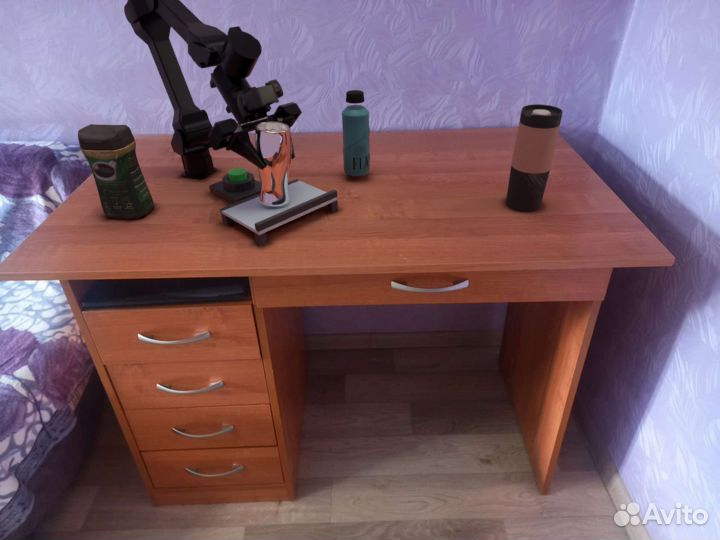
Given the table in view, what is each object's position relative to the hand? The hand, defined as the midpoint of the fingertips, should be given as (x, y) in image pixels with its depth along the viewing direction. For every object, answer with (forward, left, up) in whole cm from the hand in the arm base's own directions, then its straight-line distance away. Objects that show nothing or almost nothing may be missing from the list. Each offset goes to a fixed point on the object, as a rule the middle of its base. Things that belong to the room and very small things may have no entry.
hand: (278, 163), depth 91 cm
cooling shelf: (-1, 0, -12) cm, 12 cm away
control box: (-15, +7, -12) cm, 21 cm away
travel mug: (+46, +21, -12) cm, 52 cm away
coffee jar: (-33, -8, -12) cm, 36 cm away
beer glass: (-2, 0, -8) cm, 9 cm away
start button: (-15, +7, -8) cm, 19 cm away
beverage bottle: (+7, +24, -12) cm, 28 cm away
